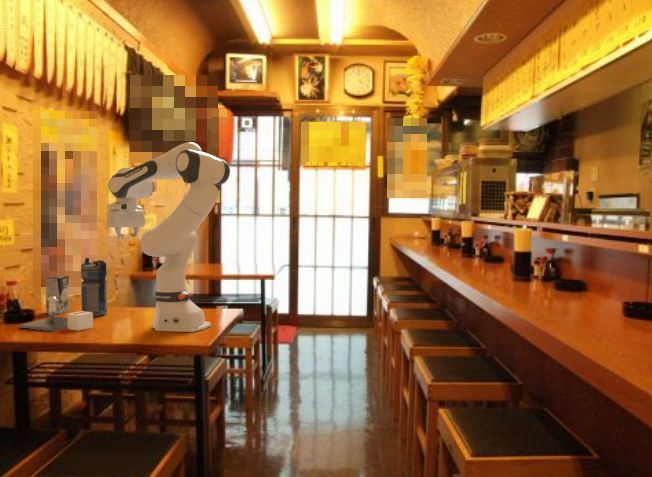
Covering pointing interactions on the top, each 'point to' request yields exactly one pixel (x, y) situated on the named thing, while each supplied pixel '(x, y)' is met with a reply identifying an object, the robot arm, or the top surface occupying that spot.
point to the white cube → (80, 320)
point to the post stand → (48, 320)
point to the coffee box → (58, 292)
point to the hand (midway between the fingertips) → (127, 237)
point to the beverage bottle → (94, 287)
